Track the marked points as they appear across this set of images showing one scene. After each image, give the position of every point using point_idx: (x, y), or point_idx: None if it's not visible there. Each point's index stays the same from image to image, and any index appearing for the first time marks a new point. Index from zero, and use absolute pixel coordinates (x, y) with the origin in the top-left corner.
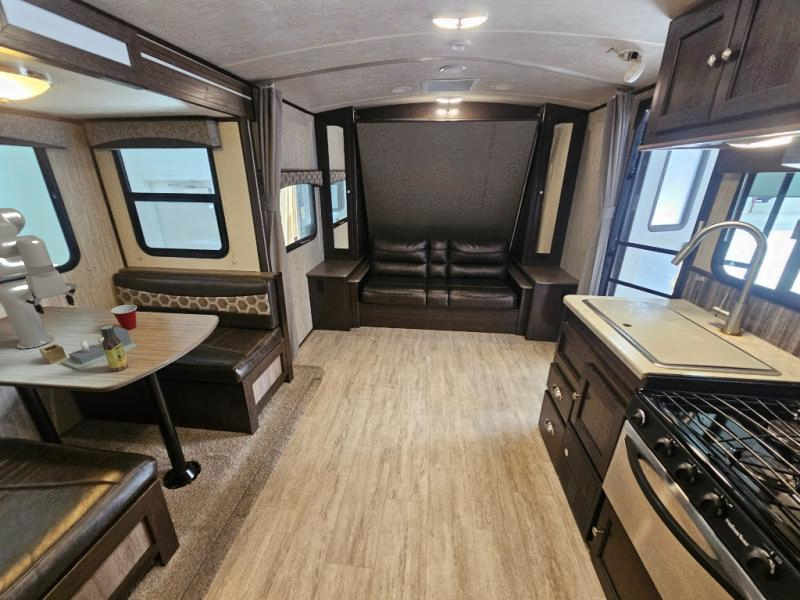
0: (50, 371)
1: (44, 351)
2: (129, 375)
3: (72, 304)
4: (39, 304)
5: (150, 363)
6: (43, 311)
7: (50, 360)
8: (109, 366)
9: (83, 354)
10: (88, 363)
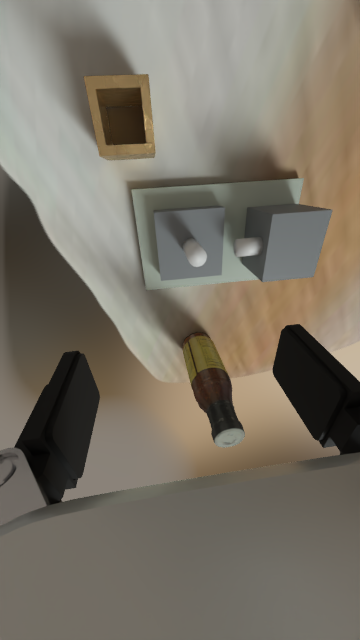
0: (97, 221)
1: (97, 135)
2: None
3: (279, 377)
4: (68, 480)
5: (232, 367)
6: (94, 410)
7: (108, 159)
8: (183, 349)
9: (176, 260)
10: (169, 283)
